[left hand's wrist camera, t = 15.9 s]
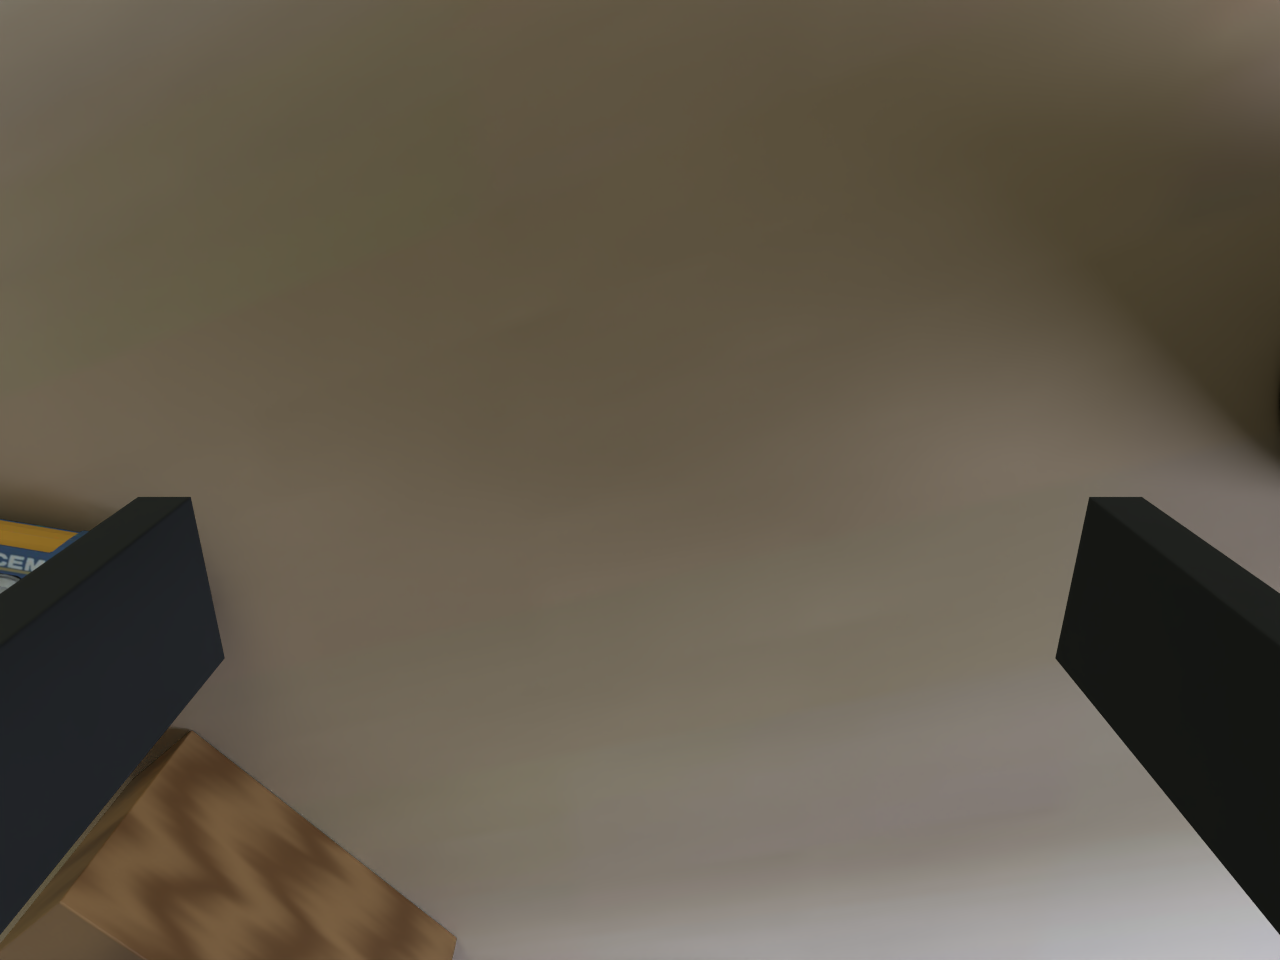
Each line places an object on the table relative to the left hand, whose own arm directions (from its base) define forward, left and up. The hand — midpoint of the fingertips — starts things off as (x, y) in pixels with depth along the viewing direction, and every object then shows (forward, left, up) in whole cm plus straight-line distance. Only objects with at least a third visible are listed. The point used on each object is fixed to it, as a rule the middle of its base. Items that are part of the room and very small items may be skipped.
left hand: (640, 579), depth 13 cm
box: (-10, +40, -30) cm, 51 cm away
